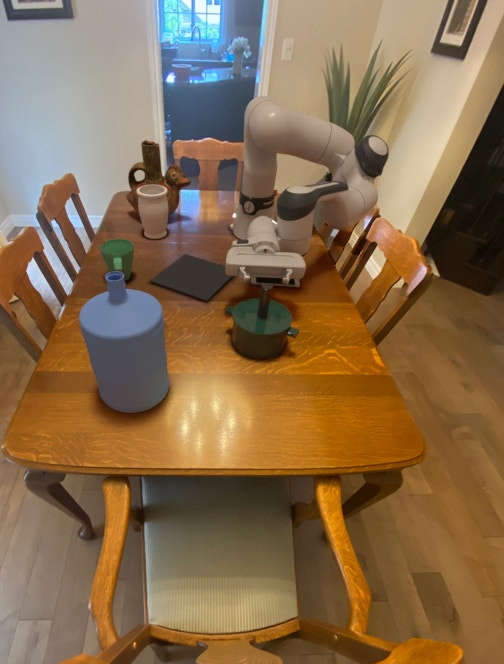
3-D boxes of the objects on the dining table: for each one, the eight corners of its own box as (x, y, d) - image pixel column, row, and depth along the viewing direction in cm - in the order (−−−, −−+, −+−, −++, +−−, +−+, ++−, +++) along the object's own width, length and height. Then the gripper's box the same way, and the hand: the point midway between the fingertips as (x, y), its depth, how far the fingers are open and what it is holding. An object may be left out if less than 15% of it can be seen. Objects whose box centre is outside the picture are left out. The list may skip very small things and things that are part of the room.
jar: (165, 242, 130) (162, 197, 119) (137, 239, 131) (132, 194, 120) (172, 229, 137) (170, 185, 126) (146, 226, 138) (142, 182, 127)
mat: (185, 256, 124) (185, 253, 123) (237, 272, 117) (238, 270, 117) (150, 283, 112) (150, 280, 112) (206, 302, 106) (206, 300, 105)
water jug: (159, 419, 77) (146, 307, 56) (89, 409, 79) (50, 296, 58) (176, 369, 87) (170, 258, 66) (113, 360, 89) (88, 249, 68)
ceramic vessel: (185, 230, 136) (184, 152, 118) (120, 222, 140) (108, 145, 121) (196, 212, 147) (196, 138, 129) (135, 205, 151) (127, 132, 132)
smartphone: (251, 270, 117) (298, 273, 116) (250, 272, 117) (297, 275, 117) (251, 282, 112) (300, 286, 111) (250, 284, 112) (299, 287, 112)
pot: (237, 316, 102) (239, 292, 96) (301, 339, 96) (308, 315, 90) (213, 343, 94) (214, 319, 88) (281, 370, 88) (287, 346, 82)
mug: (105, 270, 117) (99, 239, 109) (136, 268, 118) (132, 237, 110) (106, 296, 107) (99, 264, 100) (139, 293, 108) (135, 261, 101)
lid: (247, 296, 96) (251, 263, 89) (300, 313, 92) (308, 280, 85) (221, 325, 88) (223, 291, 81) (277, 346, 83) (285, 312, 76)
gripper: (299, 266, 100) (306, 294, 90) (225, 263, 100) (224, 291, 91) (305, 244, 95) (312, 271, 86) (226, 240, 95) (225, 267, 86)
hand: (266, 281), depth 88 cm, fingers open, 8 cm apart
